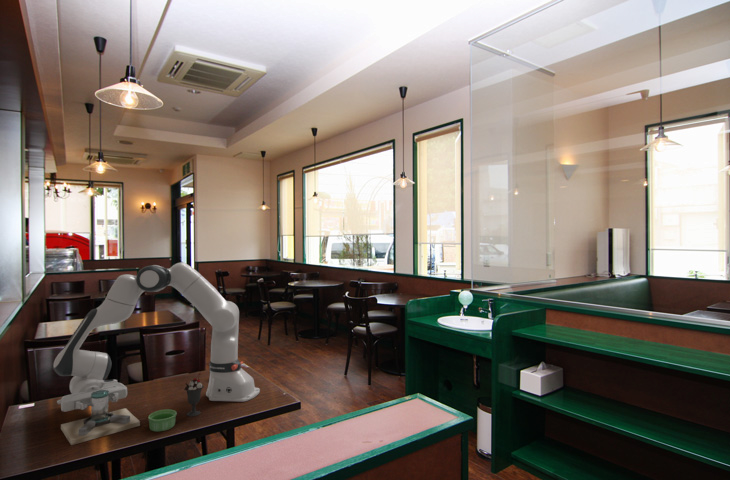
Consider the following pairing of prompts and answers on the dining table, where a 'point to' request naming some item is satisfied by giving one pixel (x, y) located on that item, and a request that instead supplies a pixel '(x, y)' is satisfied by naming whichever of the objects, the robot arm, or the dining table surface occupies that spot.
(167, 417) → the ramekin
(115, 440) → the dining table surface
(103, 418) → the teal-capped glass jar
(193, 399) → the sundae
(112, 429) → the board
